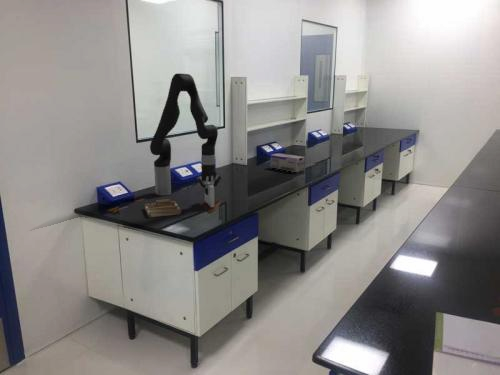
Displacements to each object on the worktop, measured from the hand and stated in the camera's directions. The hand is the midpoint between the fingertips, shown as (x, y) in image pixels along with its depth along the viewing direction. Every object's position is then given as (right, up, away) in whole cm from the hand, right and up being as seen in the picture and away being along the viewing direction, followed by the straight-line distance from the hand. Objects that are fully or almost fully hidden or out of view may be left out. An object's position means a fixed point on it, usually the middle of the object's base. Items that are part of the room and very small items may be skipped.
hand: (209, 194), depth 230 cm
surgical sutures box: (+51, +17, +96) cm, 110 cm away
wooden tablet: (0, -7, +2) cm, 8 cm away
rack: (-23, -10, -11) cm, 27 cm away
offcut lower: (-24, -8, -8) cm, 27 cm away
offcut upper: (-23, -5, -8) cm, 25 cm away
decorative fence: (-43, -8, 0) cm, 44 cm away
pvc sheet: (0, -5, +1) cm, 5 cm away
